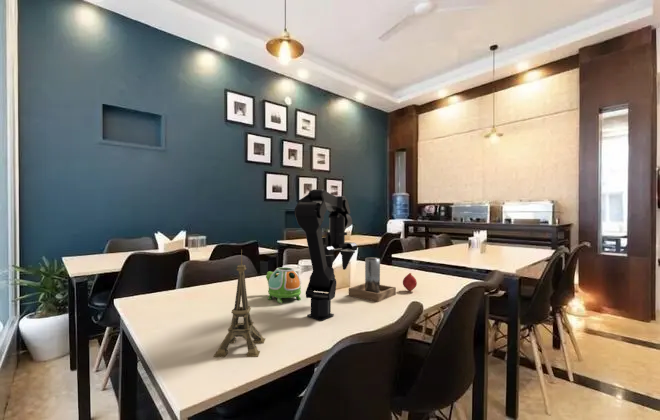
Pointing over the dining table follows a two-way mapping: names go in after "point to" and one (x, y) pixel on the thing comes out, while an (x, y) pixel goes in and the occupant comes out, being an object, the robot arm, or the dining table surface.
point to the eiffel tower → (241, 328)
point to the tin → (372, 274)
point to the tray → (361, 293)
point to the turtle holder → (283, 284)
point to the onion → (409, 282)
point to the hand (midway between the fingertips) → (336, 271)
